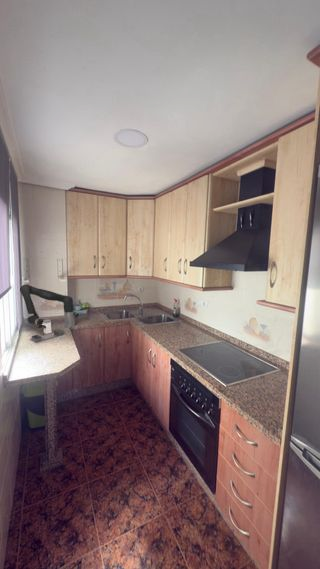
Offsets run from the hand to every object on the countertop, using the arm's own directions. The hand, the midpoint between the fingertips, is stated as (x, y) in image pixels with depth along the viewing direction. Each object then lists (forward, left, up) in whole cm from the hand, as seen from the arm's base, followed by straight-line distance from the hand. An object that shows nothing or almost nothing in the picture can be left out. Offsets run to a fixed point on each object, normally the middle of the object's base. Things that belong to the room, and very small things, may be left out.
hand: (48, 326), depth 220 cm
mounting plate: (0, -3, -12) cm, 12 cm away
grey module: (0, -3, -6) cm, 7 cm away
